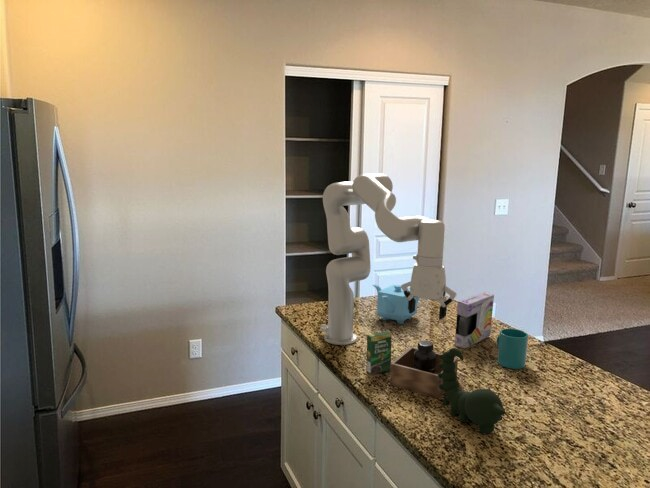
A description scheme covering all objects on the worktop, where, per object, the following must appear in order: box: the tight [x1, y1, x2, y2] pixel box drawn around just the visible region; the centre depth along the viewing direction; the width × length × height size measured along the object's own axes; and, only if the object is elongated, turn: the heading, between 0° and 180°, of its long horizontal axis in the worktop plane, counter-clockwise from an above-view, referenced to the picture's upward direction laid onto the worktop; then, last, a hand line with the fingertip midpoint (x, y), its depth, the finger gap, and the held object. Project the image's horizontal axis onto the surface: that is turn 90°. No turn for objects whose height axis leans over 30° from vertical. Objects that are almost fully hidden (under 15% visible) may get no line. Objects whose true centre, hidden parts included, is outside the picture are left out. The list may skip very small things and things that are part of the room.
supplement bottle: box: [413, 340, 436, 374], centre depth 159 cm, size 7×7×12 cm
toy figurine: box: [438, 347, 507, 435], centre depth 136 cm, size 9×19×25 cm
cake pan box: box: [454, 291, 495, 349], centre depth 192 cm, size 19×5×18 cm, turn 131°
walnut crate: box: [389, 346, 459, 399], centre depth 159 cm, size 16×16×7 cm
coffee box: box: [366, 330, 392, 375], centre depth 166 cm, size 8×3×13 cm, turn 115°
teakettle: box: [372, 284, 421, 325], centre depth 216 cm, size 19×19×15 cm
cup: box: [496, 328, 529, 370], centre depth 174 cm, size 9×12×11 cm
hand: (426, 315), depth 156 cm, fingers open, 9 cm apart
